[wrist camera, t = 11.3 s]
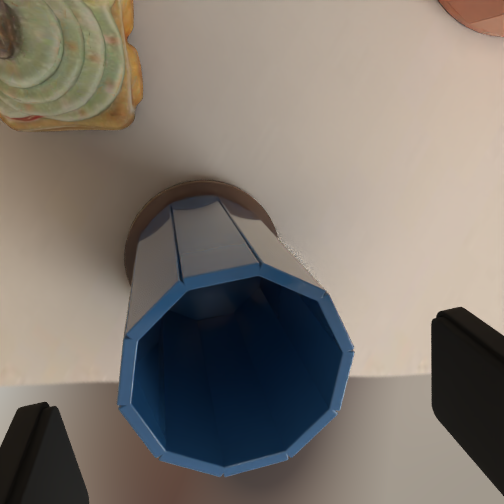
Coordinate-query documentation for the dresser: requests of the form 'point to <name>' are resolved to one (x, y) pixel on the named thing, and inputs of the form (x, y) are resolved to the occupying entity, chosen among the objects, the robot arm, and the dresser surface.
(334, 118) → the dresser surface
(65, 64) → the cucumber toast
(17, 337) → the dresser surface
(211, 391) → the blue cup
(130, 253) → the coaster
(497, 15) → the orange bowl
